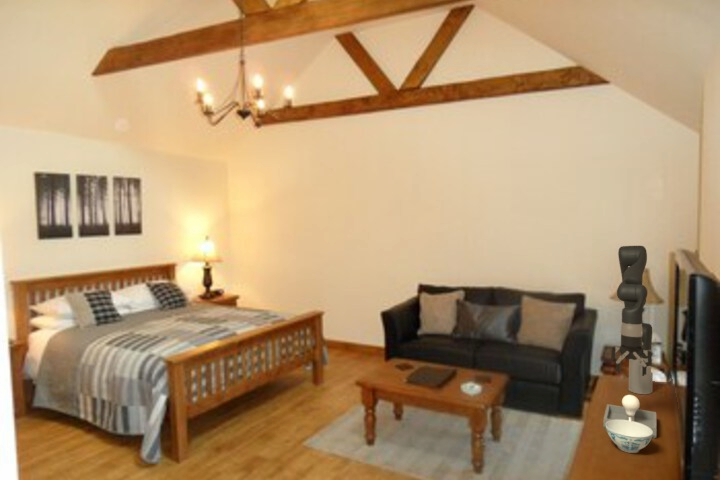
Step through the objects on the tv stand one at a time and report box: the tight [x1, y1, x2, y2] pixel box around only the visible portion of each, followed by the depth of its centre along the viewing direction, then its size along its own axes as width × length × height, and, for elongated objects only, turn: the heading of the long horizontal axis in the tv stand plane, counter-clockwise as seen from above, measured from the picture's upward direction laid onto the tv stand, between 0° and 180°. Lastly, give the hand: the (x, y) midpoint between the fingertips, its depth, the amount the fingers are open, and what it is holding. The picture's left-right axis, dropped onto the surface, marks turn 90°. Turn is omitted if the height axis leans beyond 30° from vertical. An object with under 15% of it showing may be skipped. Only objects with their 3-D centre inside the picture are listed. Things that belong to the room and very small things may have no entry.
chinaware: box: [605, 420, 653, 454], centre depth 178 cm, size 15×15×8 cm
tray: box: [602, 403, 657, 439], centre depth 198 cm, size 18×18×4 cm
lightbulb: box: [621, 394, 641, 421], centre depth 199 cm, size 6×6×11 cm
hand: (630, 373), depth 197 cm, fingers open, 8 cm apart
